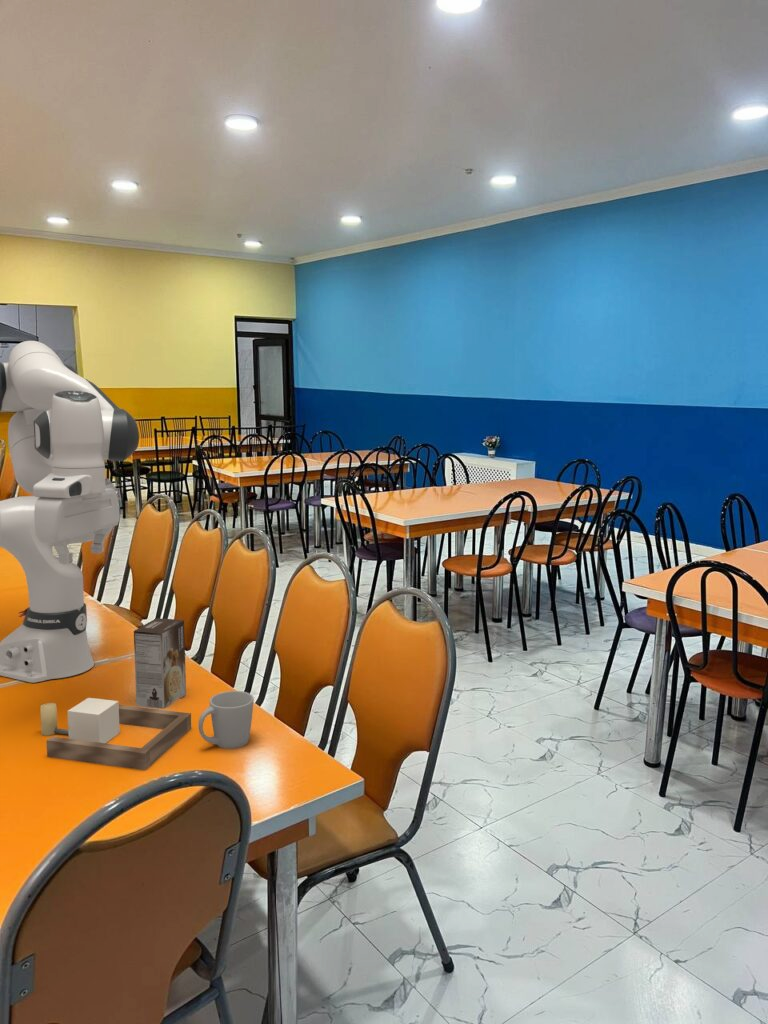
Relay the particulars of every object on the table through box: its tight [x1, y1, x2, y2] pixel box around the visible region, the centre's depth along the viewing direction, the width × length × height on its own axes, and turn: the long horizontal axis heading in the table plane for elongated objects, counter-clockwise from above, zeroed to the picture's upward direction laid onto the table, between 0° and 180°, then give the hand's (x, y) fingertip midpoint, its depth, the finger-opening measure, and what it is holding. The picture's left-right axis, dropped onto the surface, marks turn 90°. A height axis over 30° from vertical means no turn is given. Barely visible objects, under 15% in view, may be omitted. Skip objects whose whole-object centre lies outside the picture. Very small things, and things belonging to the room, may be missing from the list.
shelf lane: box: [45, 704, 192, 771], centre depth 129 cm, size 18×16×4 cm
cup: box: [198, 690, 255, 750], centre depth 129 cm, size 8×10×8 cm
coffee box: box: [133, 617, 187, 710], centre depth 147 cm, size 9×6×16 cm
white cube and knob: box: [39, 697, 121, 744], centre depth 131 cm, size 13×6×6 cm, turn 78°
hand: (82, 558), depth 135 cm, fingers open, 8 cm apart
